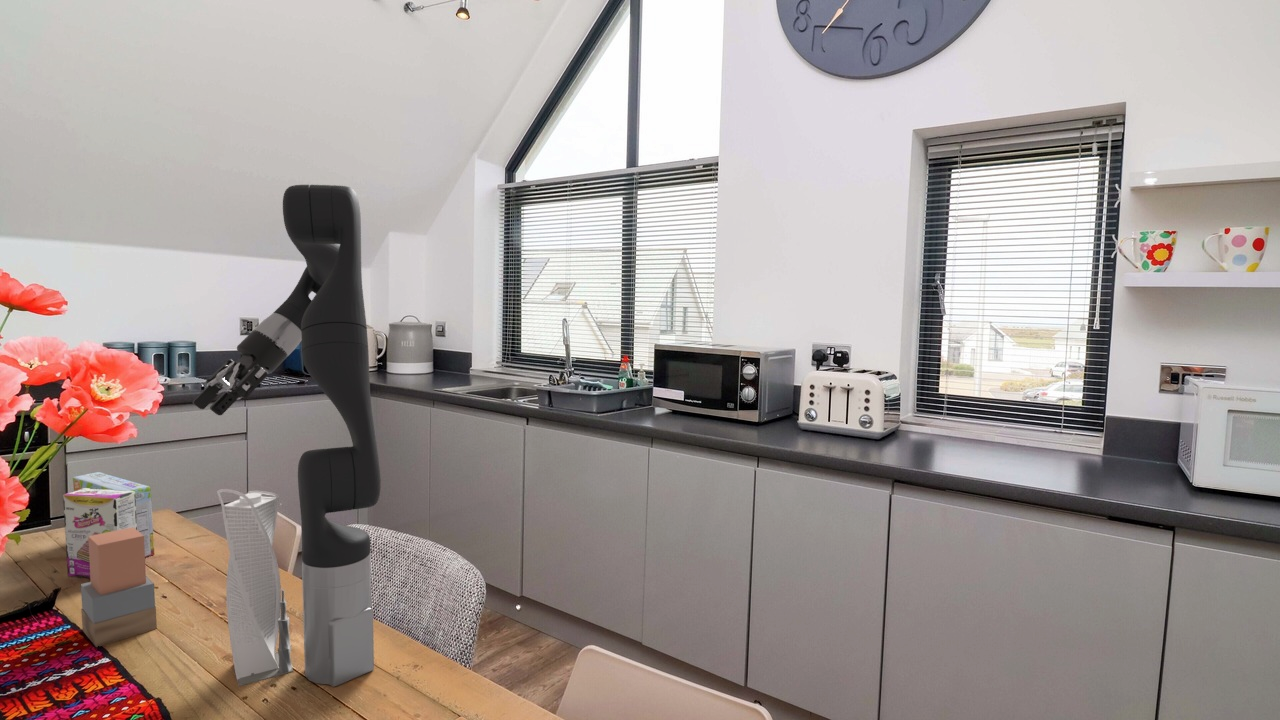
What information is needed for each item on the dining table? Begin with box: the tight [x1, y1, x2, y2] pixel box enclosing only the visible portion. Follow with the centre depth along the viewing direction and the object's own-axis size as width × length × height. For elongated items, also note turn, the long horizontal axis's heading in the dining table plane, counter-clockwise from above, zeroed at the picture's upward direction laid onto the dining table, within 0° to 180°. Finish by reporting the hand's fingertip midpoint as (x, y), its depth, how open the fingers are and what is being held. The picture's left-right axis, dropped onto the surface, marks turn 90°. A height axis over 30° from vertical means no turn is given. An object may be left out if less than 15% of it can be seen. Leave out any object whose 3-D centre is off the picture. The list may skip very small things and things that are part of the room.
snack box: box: [72, 471, 155, 558], centre depth 145 cm, size 21×6×15 cm, turn 62°
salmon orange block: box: [88, 527, 147, 595], centre depth 111 cm, size 6×6×8 cm
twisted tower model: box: [216, 488, 294, 687], centre depth 100 cm, size 8×8×28 cm
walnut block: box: [80, 605, 158, 648], centre depth 112 cm, size 8×8×4 cm
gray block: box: [80, 575, 156, 624], centre depth 111 cm, size 8×8×4 cm
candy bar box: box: [62, 488, 137, 579], centre depth 132 cm, size 11×5×16 cm, turn 84°
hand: (205, 409), depth 121 cm, fingers open, 8 cm apart
